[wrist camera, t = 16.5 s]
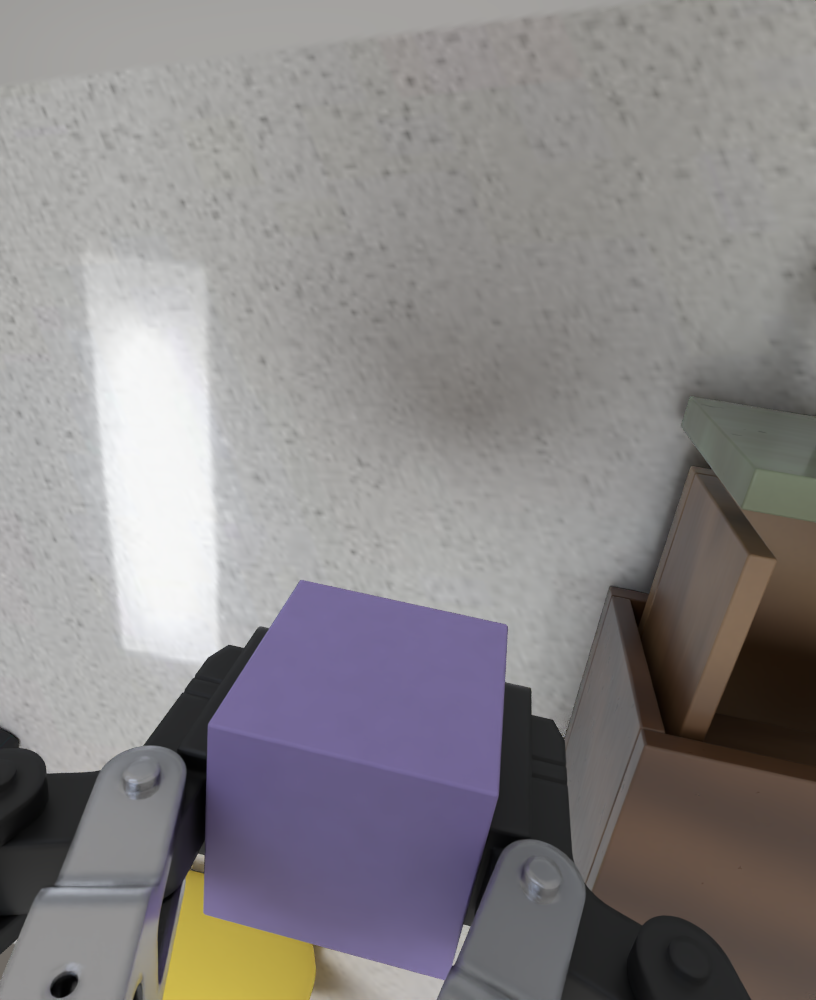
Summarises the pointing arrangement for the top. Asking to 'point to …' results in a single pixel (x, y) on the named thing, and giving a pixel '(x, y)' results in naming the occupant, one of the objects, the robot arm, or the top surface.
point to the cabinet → (690, 820)
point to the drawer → (740, 586)
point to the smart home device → (7, 740)
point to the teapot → (233, 958)
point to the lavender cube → (357, 777)
